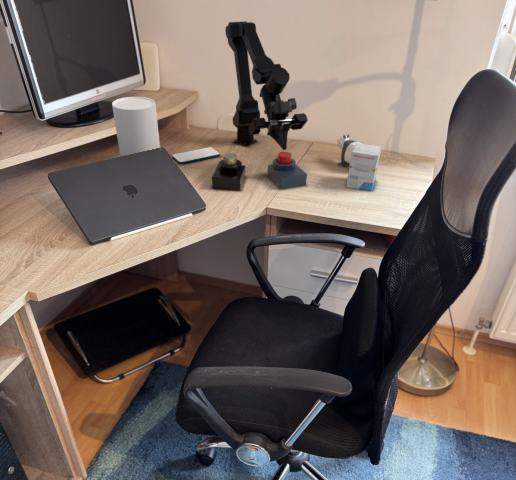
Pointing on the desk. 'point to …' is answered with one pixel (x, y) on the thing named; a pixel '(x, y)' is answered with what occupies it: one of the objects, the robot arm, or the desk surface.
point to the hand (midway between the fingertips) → (284, 149)
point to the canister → (136, 124)
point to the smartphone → (195, 155)
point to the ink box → (363, 166)
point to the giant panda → (346, 149)
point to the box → (286, 175)
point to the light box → (228, 176)
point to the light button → (230, 159)
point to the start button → (284, 158)
